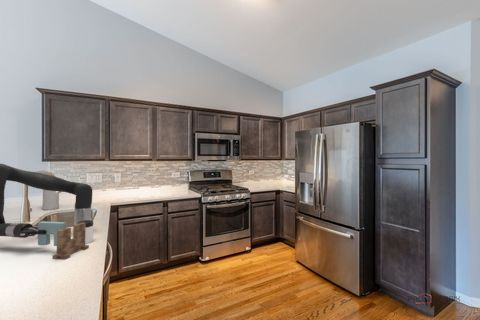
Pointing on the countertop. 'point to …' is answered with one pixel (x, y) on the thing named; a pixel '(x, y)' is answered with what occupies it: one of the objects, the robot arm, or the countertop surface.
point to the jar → (88, 230)
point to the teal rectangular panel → (49, 231)
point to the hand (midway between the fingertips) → (48, 231)
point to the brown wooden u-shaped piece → (70, 241)
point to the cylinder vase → (50, 200)
